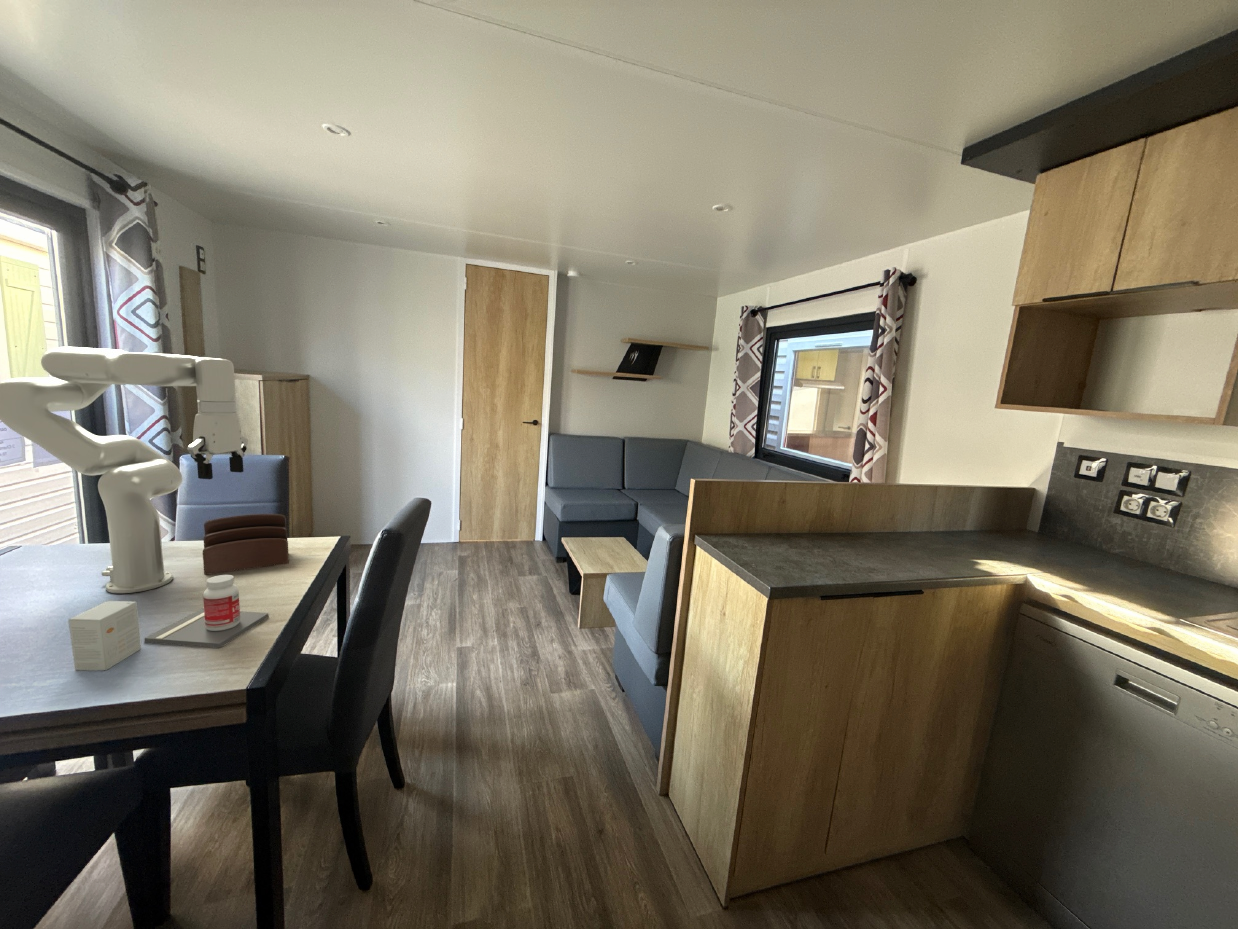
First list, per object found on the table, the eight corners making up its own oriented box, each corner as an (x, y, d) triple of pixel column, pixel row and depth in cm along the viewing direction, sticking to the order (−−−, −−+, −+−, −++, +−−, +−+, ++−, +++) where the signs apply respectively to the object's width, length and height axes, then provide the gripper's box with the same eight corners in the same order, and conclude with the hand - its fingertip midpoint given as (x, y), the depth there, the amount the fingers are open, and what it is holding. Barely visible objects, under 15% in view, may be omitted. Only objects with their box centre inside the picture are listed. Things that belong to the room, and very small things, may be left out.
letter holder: (206, 563, 145) (203, 517, 143) (287, 554, 157) (285, 511, 155) (203, 575, 137) (200, 526, 135) (289, 564, 149) (287, 519, 147)
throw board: (144, 642, 103) (144, 637, 103) (202, 612, 117) (201, 607, 117) (219, 648, 103) (219, 642, 103) (268, 617, 117) (268, 612, 117)
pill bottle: (239, 628, 109) (236, 581, 107) (203, 634, 106) (199, 586, 104) (241, 616, 114) (239, 571, 112) (207, 622, 111) (204, 575, 109)
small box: (112, 648, 100) (107, 600, 99) (142, 649, 101) (137, 600, 99) (73, 671, 93) (66, 619, 91) (105, 671, 93) (99, 619, 91)
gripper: (230, 405, 132) (234, 468, 135) (170, 408, 115) (176, 480, 118) (258, 407, 132) (261, 470, 135) (202, 411, 115) (207, 482, 118)
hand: (221, 475), depth 126 cm, fingers open, 9 cm apart
